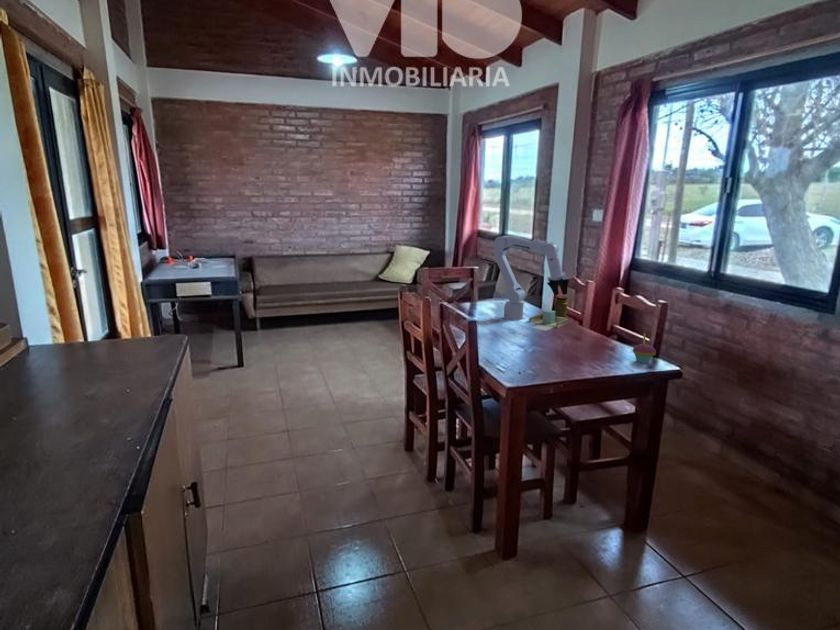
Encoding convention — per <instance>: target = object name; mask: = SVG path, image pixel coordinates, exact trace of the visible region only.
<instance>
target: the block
mask: <svg viewBox="0 0 840 630" xmlns="http://www.w3.org/2000/svg"><path fill="white" fill-rule="evenodd" d="M555 312H556V311H555V310H552V309H545V310H543V311H542V314H543V321H542V323H546V324H553V323H555Z"/></svg>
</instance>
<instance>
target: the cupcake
mask: <svg viewBox="0 0 840 630" xmlns="http://www.w3.org/2000/svg"><path fill="white" fill-rule="evenodd" d="M642 341H643V342H642V343H639V344H636V345H634V346H633V349H632V353H633V354H634V356H635V361H636V362H637V361H638V362H637V363H639V362H641V363H640V364H644V363H646V364H650V361H651V359H652V358H653V357H654V356H656V355H657V354H656V353H657V351H656V349H655V347H653V345H650V344H646V331H644V333H643V339H642Z"/></svg>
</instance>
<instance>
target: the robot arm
mask: <svg viewBox="0 0 840 630" xmlns="http://www.w3.org/2000/svg"><path fill="white" fill-rule="evenodd" d="M492 244H493V256H494V259H495V262H496V264H497V266H498V268H499V271H500V272H501V275H502V277H503V280H504V282H505V285H506V286H507V288H506V293H507V299H508V300H507V301H506V302H505V303H504V307H503V317H502V319H504V320H506V319H507V320H512V321H516V322H519V321H522V320H525V319H526V317H524V306H525V305H524V304H525V301H524V300H525V299H526V297H527V292H526V291H525V290H524V288H522V286H521V285H520V284H519V283H518V281H517V280H516V277H515V275H514V272H513V270H512V268H511V265H510V263H509V262H508V259H507V257H506V255H507V253H508V250H509V249H511V246H513V245H517V246H520V247H526V248H529V249H530V251H533V252H535V253H540V254H543V255H544V256H545V257H546V261H547V266H548V271H549V274H550V276H549V277H547V283H546V284H547V285H548V286H549V288H550V289H551V291H552V294H553V295H554V296H557V295H558V296H559V294H560V293H559V292H560V291H561V294H562V295H563V296H564V295H567V294H568V287H569V282H570V279H569V278H568V275H567V274H563V270H562V266H561V265H562V264H561V262H560V260H561V259H560V257H559V256H560V255H559V245H558V244H557V243H555V242H549V241H543V240H540V238H535V239H532V240H530V239H529V240H528V239H526V238H522V237H519V236H515V235H509V234H508V235H507V234H506V235H501V236H498V237H497V236H496V238H495V239H494V242H493V243H492ZM559 287H560V291H559Z"/></svg>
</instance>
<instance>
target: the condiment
mask: <svg viewBox="0 0 840 630" xmlns="http://www.w3.org/2000/svg"><path fill="white" fill-rule="evenodd" d="M554 311H556V312H555V316H557V317H562V318H567V312H568V297H567V296H564V295H563V296H561V295H560V296H559V295H558V296H556V300H555V305H554Z"/></svg>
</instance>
